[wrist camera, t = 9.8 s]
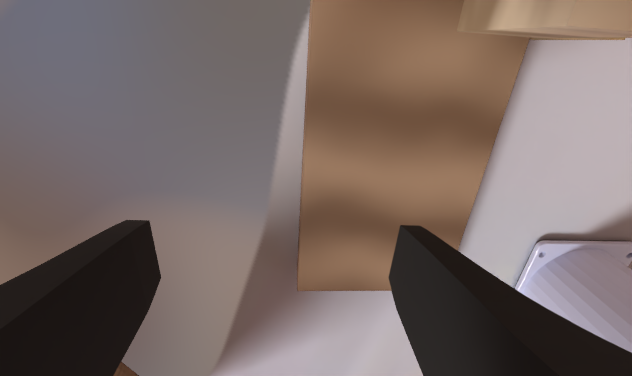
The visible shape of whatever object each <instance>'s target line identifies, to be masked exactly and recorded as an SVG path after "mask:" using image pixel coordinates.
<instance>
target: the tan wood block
mask: <svg viewBox="0 0 632 376" xmlns="http://www.w3.org/2000/svg"><path fill="white" fill-rule="evenodd" d="M457 32H469V33H482V34H494V35H507V36H519V37H530V40H625V38H632V0H464V3H463V7H462V12H461V16H460V20H459V24H458V28H457Z"/></svg>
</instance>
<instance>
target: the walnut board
mask: <svg viewBox="0 0 632 376" xmlns="http://www.w3.org/2000/svg"><path fill="white" fill-rule="evenodd" d="M463 3H464V0H310V19H309V39H308V59H307V79H306V99H305V119H304V139H303V159H302V179H301V200H300V220H299V240H298V260H297V291H392V290H391V286H390V282H389V278H388V277H389V273H390V268H391V264H392V259H393V255H394V251H395V246H396V242H397V237H398V233H399V228H400V225H420V226H422V227H423V228H425V229H427V230H428V231H430V232H431V233H433V234H434V235H436V236H437V237H439V238H440V239H442V240H443V241H444V242H446V243H447V244H449V245H450V246H452V247H453V248H454V249H456V250H457V251H458V248H459V245H460V242H461V239H462V236H463V233H464V230H465V227H466V224H467V221H468V219H469V216H470V213H471V210H472V207H473V204H474V201H475V198H476V195H477V192H478V189H479V186H480V183H481V180H482V177H483V174H484V171H485V169H486V166H487V163H488V160H489V157H490V154H491V151H492V148H493V145H494V142H495V139H496V136H497V133H498V130H499V127H500V124H501V121H502V118H503V116H504V113H505V110H506V107H507V104H508V101H509V98H510V95H511V92H512V89H513V86H514V83H515V80H516V77H517V74H518V71H519V68H520V66H521V63H522V60H523V57H524V54H525V51H526V48H527V45H528V42H529V39H530V37H519V36H507V35H494V34H482V33H469V32H457V28H458V24H459V20H460V16H461V12H462V7H463Z"/></svg>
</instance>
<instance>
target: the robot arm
mask: <svg viewBox="0 0 632 376" xmlns="http://www.w3.org/2000/svg"><path fill="white" fill-rule="evenodd" d="M631 261H632V242H622V241H550V240H544V241H540V242H538V243H537V244H536V245H535V247H534V249H533V251H532V253H531V255H530V257H529V259H528V262H527V264H526V266H525V268H524V270H523V272H522V274H521V276H520V278H519V280H518V283H517V285H516V287H515V289H514V288H512V287H511V286H509V285H508V284H506V283H504V282H503V281H501V280H500V279H498V278H497V277H495V276H494V275H492V274H491V273H489V272H488V271H486V270H485V269H483V268H482V267H480V266H479V265H477V264H476V263H474V262H473V261H471V260H470V259H469V258H467V257H466V256H464V255H463V254H461V253H460V252H459V251H457V250H456V249H454V248H453V247H452V246H450V245H449V244H447V243H446V242H444V241H443V240H442V239H440V238H439V237H437V236H436V235H434V234H433V233H431V232H430V231H428V230H427V229H425V228H423V227H422V226H420V225H400V228H399V233H398V237H397V242H396V246H395V251H394V255H393V259H392V264H391V268H390V273H389V277H388V278H389V282H390V286H391V290H392V294H393V298H394V301H395V305H396V309H397V311H398V314H399V316H400V319H401V321H402V324H403V326H404V329H405V331H406V334H407V336H408V339H409V341H410V344H411V346H412V349H413V351H414V354H415V356H416V359H417V361H418V363H419V366H420V368H421V371H422V373H423V376H632V269H631V268H629V267H628V266H629V264H630V263H631ZM160 279H161V274H160V270H159V265H158V260H157V255H156V251H155V246H154V241H153V236H152V231H151V227H150V222H149V221H143V220H126V221H123V222H121V223H119V224H117V225H115V226H112V227H111V228H109V229H107V230H105V231H103V232H101V233H99V234H97V235H95V236H93V237H92V238H89V239H88V240H86V241H84V242H83V243H80V244H78V245H77V246H75V247H73V248H71V249H69V250H67V251H65V252H64V253H62V254H60V255H58V256H56V257H54V258H52V259H50V260H49V261H47V262H45V263H43V264H41V265H39V266H37V267H35V268H33V269H31V270H29V271H27V272H25V273H23V274H21V275H19V276H17V277H15V278H13V279H11V280H9V281H7V282H6V283H3V284H1V285H0V376H113V375H114V374H115V372H116V370H117V368H118V366H119V364H120V363H121V360H122V359H123V357H124V355H125V353H126V352H127V350H128V348H129V346H130V344H131V342H132V340H133V339H134V337H135V335H136V333H137V331H138V329H139V327H140V326H141V324H142V322H143V320H144V318H145V316H146V314H147V312H148V310H149V308H150V305H151V303H152V300H153V298H154V295H155V293H156V290H157V287H158V284H159V282H160Z"/></svg>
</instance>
